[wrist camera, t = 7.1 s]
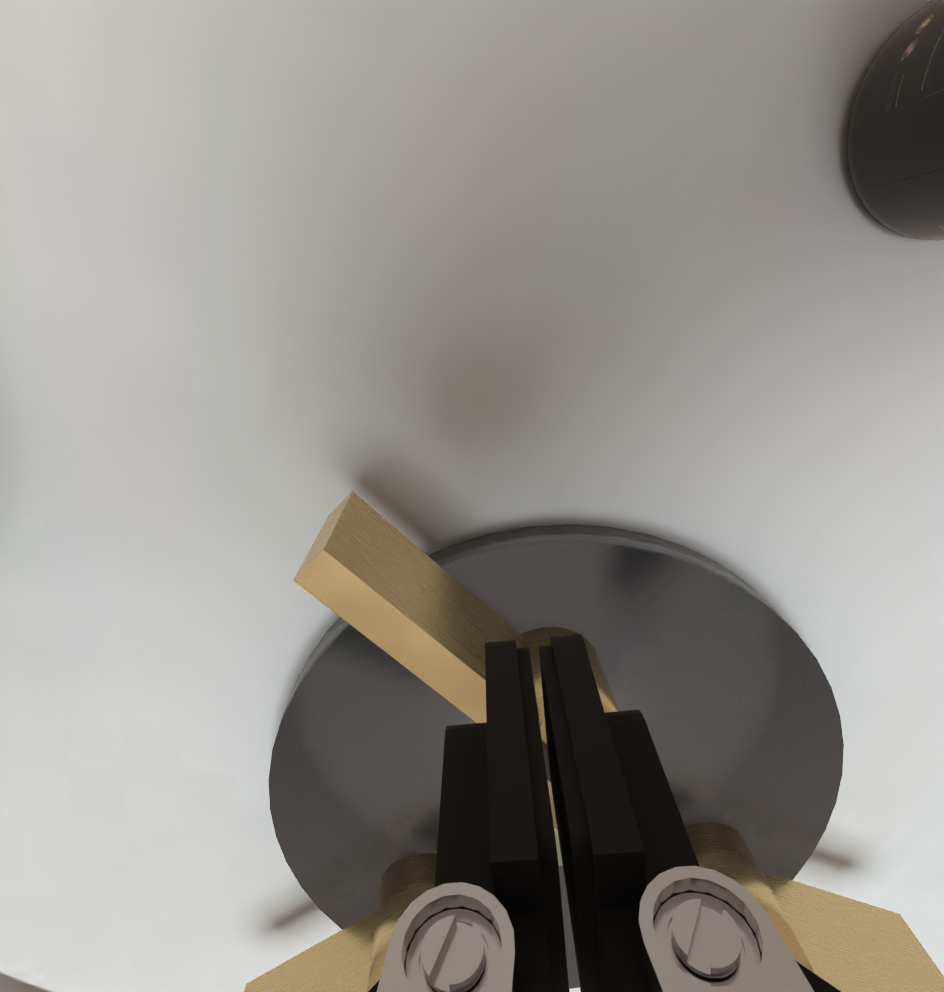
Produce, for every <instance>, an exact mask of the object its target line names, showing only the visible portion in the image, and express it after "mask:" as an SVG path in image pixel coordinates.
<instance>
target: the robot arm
mask: <svg viewBox="0 0 944 992" xmlns="http://www.w3.org/2000/svg"><path fill="white" fill-rule="evenodd" d="M539 658H540V670H541V681H542V693H543V705H544V716H545V728H546V740H547V751H548V763H549V773H550V781H551V788H552V795H553V802H554V809H555V816H556V823H557V830H558V837H559V844H560V851H561V857H562V864H563V871H564V878H565V885H566V892H567V899H568V906H569V913H570V920H571V927H572V934H573V940H574V947H575V954H576V961H577V968H578V975H579V982H580V989H581V992H841V991H840V990H838V989H837V988H835V987H834V986H832V985H831V984H829V983H828V982H826V981H825V980H823V979H822V978H820V977H819V976H818V975H816V974H815V973H813V972H812V971H810V970H809V969H807V968H806V967H804V966H803V965H801V964H800V963H798V962H797V961H796V960H795V959H794V957H793V956H792V954H791V952H790V951H789V949H788V947H787V946H786V944H785V942H784V941H783V939H782V937H781V936H780V934H779V932H778V931H777V929H776V927H775V926H774V924H773V922H772V921H771V919H770V917H769V916H768V914H767V913H766V911H765V910H764V909H763V908H762V906H761V905H760V904H759V902H758V901H757V900H756V899H755V897H754V896H753V895H752V894H751V893H750V892H749V891H747V890H746V889H745V888H744V887H742V886H741V885H740V884H739V883H738V882H736V881H735V880H734V879H731V878H729V877H727V876H725V875H723V874H721V873H719V872H717V871H715V870H712V869H707V868H703V867H700V866H699V863H698V860H697V858H696V855H695V852H694V850H693V847H692V844H691V842H690V839H689V836H688V834H687V831H686V828H685V826H684V823H683V820H682V818H681V815H680V812H679V810H678V807H677V804H676V802H675V799H674V796H673V793H672V791H671V788H670V785H669V783H668V780H667V777H666V775H665V772H664V769H663V767H662V764H661V761H660V759H659V756H658V753H657V751H656V748H655V745H654V743H653V740H652V737H651V735H650V732H649V729H648V726H647V724H646V721H645V719H644V717H643V714H642V713H641V711H640V710H628V711H616V712H604V709H603V705H602V702H601V698H600V695H599V691H598V688H597V684H596V681H595V677H594V674H593V671H592V667H591V664H590V660H589V657H588V653H587V650H586V646H585V643H584V639H583V636H582V634H574V635H563V636H552V637H550V645H548V646H539ZM485 676H486V720H487V722H486V723H474V724H462V725H450V726H447V727H446V729H445V739H444V754H443V769H442V784H441V799H440V814H439V829H438V844H437V859H436V874H435V888H432V889H430V890H427V891H426V892H424V893H423V894H422V895H420V896H419V897H418V898H417V899H415V900H414V901H413V902H411V904H410V905H409V906H408V908H407V909H406V910H405V911H404V913H403V914H402V915H401V917H400V918H399V920H398V922H397V924H396V927H395V929H394V932H393V934H392V937H391V939H390V943H389V947H388V951H387V954H386V958H385V962H384V966H383V970H382V973H381V977H380V980H379V981H378V982H377V983H376V984H375V985H374V986H373V987H372V988H371V989H370V990H369V991H368V992H569V982H568V970H567V959H566V947H565V935H564V923H563V911H562V899H561V887H560V876H559V865H558V856H557V847H556V839H555V831H554V824H553V817H552V810H551V803H550V795H549V788H548V781H547V774H546V767H545V759H544V752H543V745H542V738H541V731H540V723H539V716H538V709H537V702H536V695H535V687H534V680H533V673H532V666H531V659H530V651H529V647H526V648H516V640H508V641H497V642H486V643H485Z"/></svg>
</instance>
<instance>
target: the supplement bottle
mask: <svg viewBox="0 0 944 992" xmlns="http://www.w3.org/2000/svg"><path fill="white" fill-rule="evenodd" d="M848 162H849V169H850V173H851V177H852V181H853V183H854V186H855V189H856V191H857V193H858V195H859V197H860V199H861V201H862V202H863V204H864V205H865V207H866V208H867V209H868V211H869V212H870V213H871V214H872V215H873V216H874V217H875V218H876V219H877V220H878V221H879V222H880V223H882V224H883V225H884V226H886V227H888V228H889V229H891V230H893V231H895V232H897V233H899V234H902V235H905V236H908V237H911V238H915V239H922V240H944V0H932V1H931V2H929V3H928V4H926V5H925V6H924V7H923V8H921V9H920V10H919V11H917V12H916V13H915V14H914V15H912V16H911V17H910V18H909V19H908V20H907V21H906V22H905V23H904V24H902V25H901V27H900V28H899V29H898V30H897V31H896V32H895V33H894V34H893V35H892V36H891V38H890V39H889V40H888V41H887V43H886V44H885V45H884V46H883V48H882V49H881V50H880V52H879V53H878V55H877V56H876V58H875V59H874V61H873V63H872V64H871V66H870V68H869V70H868V71H867V73H866V75H865V77H864V80H863V82H862V84H861V86H860V89H859V91H858V94H857V97H856V100H855V103H854V106H853V110H852V114H851V119H850V123H849V131H848Z"/></svg>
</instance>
